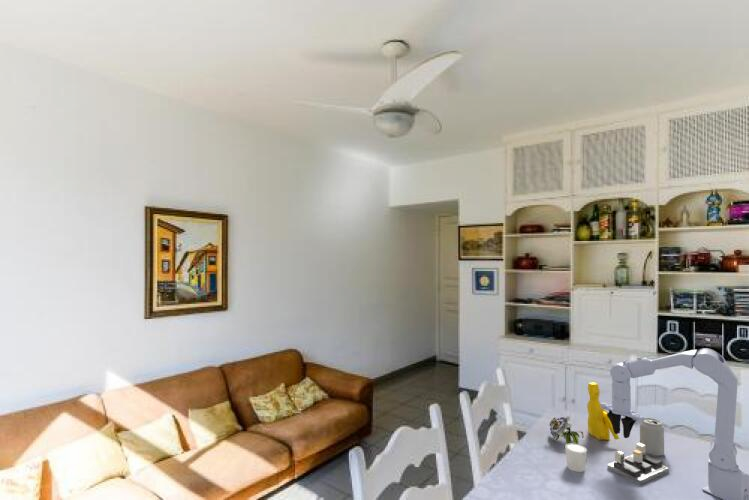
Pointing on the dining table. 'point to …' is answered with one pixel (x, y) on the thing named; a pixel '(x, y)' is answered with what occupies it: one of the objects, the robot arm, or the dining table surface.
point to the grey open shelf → (638, 466)
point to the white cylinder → (576, 457)
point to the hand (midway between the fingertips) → (621, 435)
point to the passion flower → (563, 430)
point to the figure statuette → (598, 416)
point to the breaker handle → (637, 456)
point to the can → (652, 436)
